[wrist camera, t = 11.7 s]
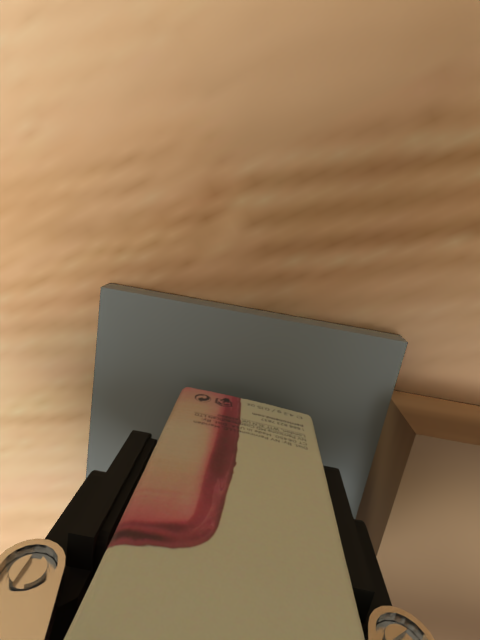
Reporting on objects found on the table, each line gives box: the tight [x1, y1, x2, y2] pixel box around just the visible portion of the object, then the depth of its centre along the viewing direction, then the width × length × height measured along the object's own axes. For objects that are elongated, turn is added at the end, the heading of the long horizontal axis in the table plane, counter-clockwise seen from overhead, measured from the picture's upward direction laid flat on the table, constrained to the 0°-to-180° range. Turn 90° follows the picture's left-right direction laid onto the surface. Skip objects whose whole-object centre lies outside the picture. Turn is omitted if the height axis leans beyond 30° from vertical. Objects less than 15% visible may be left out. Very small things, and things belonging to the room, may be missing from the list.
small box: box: [64, 387, 365, 640], centre depth 9 cm, size 5×4×8 cm
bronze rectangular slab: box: [356, 391, 480, 640], centre depth 14 cm, size 12×6×3 cm, turn 170°
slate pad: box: [86, 283, 408, 519], centre depth 14 cm, size 10×10×1 cm
